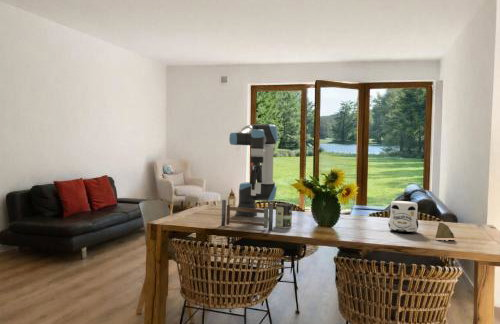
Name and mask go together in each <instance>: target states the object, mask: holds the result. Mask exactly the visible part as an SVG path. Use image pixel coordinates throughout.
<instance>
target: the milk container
mask: <svg viewBox="0 0 500 324" xmlns="http://www.w3.org/2000/svg"><path fill="white" fill-rule="evenodd" d="M418 208H419V207H418V203H417V202H414V201H413V202H412V201H407V200H406V201H405V200H392V201H391V203H390V213H389V215H390V216H389V219H388V222H387V223H388V228H389V229H390V231H393V232H396V231H398V232H397V233H401V232H413V233H416V232H417V231H418V230H419V221H418Z"/></svg>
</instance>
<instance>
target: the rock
mask: <svg viewBox="0 0 500 324" xmlns="http://www.w3.org/2000/svg"><path fill="white" fill-rule="evenodd" d="M436 229H437V230H436V234H435V238H455V236H454V235H455V234H454V233H453V232H452V231H451V228H450V227H449V226H448V225H447V224H445V223H444V222H439V223H438V226H437V228H436Z"/></svg>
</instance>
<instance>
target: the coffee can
mask: <svg viewBox="0 0 500 324" xmlns="http://www.w3.org/2000/svg"><path fill="white" fill-rule="evenodd" d="M292 217H293V204H292V203H285V202H279V203H275V222H274V225H275V228H278V229H290V228H292V221H293V220H292V219H293V218H292Z"/></svg>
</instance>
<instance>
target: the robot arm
mask: <svg viewBox="0 0 500 324" xmlns="http://www.w3.org/2000/svg"><path fill="white" fill-rule="evenodd" d="M278 141H279V132H278V127H277V125H275V124H270V123H266V124H264V123H263V124H261V123H253V124H249V125H246V126H244V127H243V128H241V130H240V131H237V132H231V133H230V134H229V144H230V145H233V146H250V161H249V162H250V163H253V165H251V168H250V178H249V179H250V180H249V181H248V182H242V183H240V184H239V188H238V205H237V207H241V208H253V209H257V206H256V202H257V201H264V202H273V201H275V199H276V194H277V188H278V185H277V184H276V181H275V180H274V150H275V149H274V147H275V146H276V144H277V142H278ZM235 215H237V216H239V217H240V216H241V217H255V216H258V213H256V212H244V211H235Z"/></svg>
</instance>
